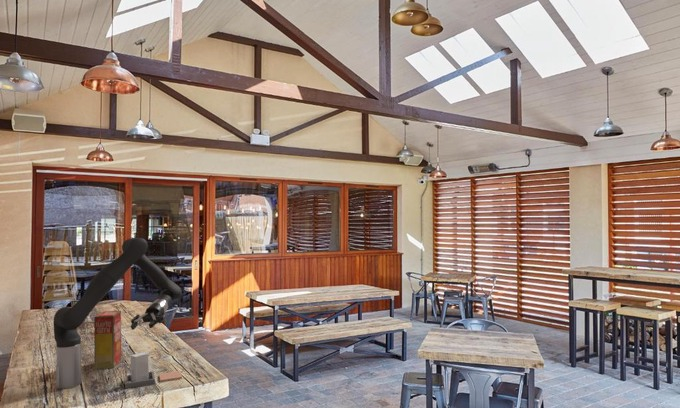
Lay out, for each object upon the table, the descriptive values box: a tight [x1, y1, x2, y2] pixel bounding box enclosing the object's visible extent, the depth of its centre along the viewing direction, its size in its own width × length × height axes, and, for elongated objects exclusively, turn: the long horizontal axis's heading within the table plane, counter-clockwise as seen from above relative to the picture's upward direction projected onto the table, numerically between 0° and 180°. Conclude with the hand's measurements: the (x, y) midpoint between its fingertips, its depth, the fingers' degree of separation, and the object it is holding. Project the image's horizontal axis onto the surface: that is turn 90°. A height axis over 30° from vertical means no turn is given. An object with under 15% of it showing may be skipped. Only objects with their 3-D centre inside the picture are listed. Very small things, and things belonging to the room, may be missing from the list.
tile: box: [158, 370, 183, 383], centre depth 210 cm, size 9×9×1 cm
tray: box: [124, 371, 156, 389], centre depth 206 cm, size 12×12×2 cm
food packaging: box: [93, 310, 122, 370], centre depth 232 cm, size 13×9×25 cm
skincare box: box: [130, 351, 150, 382], centre depth 206 cm, size 6×4×12 cm
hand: (141, 327), depth 213 cm, fingers open, 8 cm apart
